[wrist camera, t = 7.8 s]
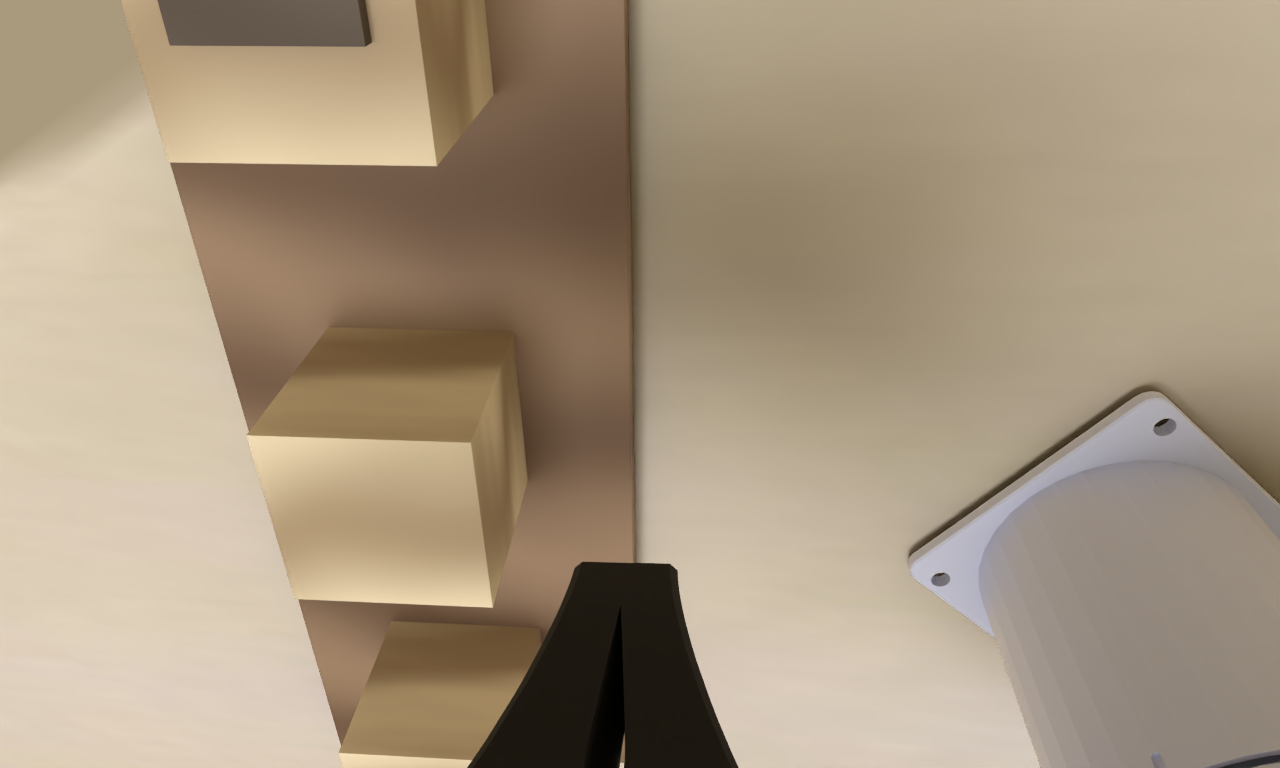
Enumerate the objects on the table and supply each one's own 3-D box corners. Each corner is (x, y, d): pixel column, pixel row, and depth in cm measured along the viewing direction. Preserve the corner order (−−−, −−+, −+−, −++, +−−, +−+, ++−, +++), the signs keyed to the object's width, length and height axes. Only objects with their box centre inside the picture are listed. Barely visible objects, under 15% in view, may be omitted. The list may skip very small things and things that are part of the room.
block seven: (391, 620, 27) (334, 763, 23) (540, 627, 26) (509, 772, 22) (412, 718, 29) (364, 862, 25) (549, 725, 29) (522, 872, 25)
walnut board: (75, -273, 16) (40, -279, 15) (624, -282, 16) (619, -288, 15) (351, 722, 31) (341, 747, 30) (637, 737, 30) (635, 763, 30)
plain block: (328, 327, 21) (246, 435, 18) (513, 331, 21) (471, 443, 17) (360, 475, 24) (294, 599, 20) (527, 481, 24) (492, 607, 20)
